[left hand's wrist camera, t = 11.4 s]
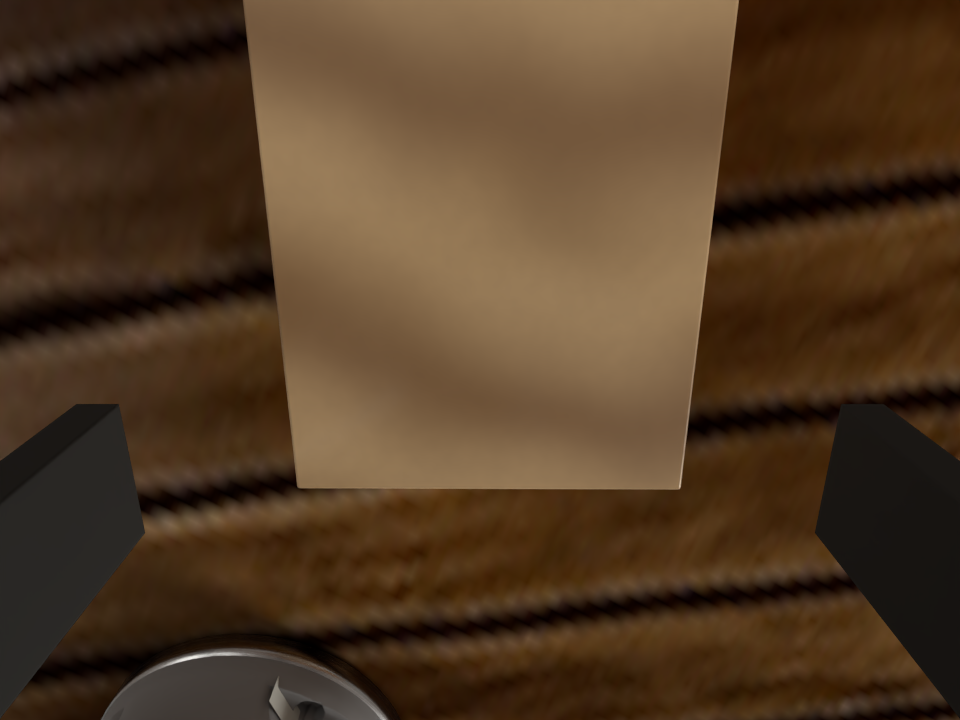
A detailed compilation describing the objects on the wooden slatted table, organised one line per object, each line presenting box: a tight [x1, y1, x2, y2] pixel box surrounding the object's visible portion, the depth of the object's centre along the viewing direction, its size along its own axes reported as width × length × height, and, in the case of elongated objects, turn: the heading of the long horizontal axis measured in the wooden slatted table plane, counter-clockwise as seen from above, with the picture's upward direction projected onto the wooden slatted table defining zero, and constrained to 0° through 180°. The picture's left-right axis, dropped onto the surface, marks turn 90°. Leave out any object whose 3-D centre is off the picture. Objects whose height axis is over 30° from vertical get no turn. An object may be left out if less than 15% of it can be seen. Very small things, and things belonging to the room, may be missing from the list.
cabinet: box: [243, 0, 739, 489], centre depth 19 cm, size 21×10×9 cm, turn 0°
